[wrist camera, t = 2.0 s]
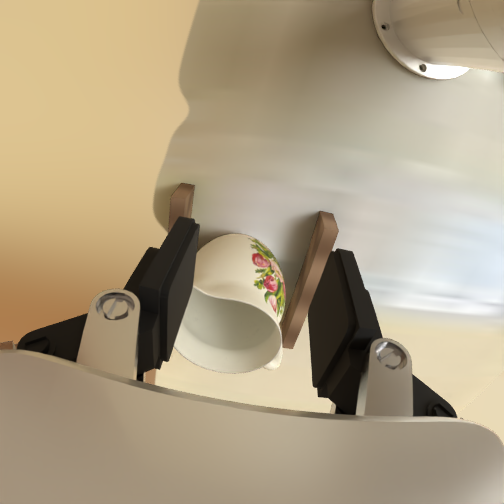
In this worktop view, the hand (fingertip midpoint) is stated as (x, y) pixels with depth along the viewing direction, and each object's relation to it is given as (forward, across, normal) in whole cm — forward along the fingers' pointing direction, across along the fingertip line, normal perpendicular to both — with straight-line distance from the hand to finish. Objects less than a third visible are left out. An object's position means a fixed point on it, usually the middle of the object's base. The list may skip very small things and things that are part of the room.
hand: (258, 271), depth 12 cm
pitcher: (+24, 0, +16) cm, 28 cm away
